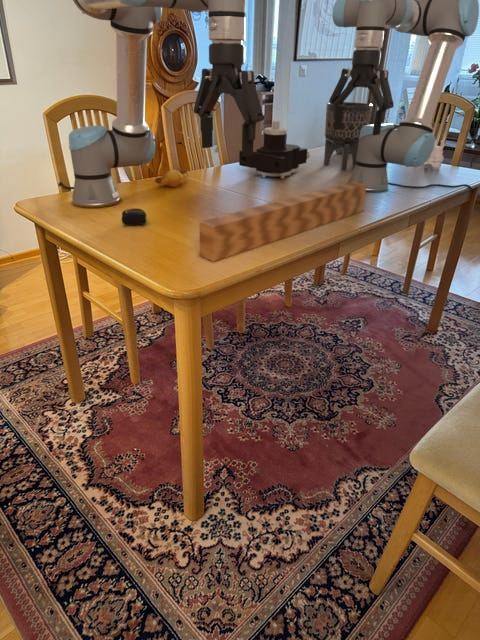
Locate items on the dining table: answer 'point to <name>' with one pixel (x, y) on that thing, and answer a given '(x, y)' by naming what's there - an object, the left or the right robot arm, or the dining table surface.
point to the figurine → (435, 157)
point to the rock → (341, 151)
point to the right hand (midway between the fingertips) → (356, 132)
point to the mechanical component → (275, 154)
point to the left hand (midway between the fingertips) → (226, 151)
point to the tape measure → (133, 216)
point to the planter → (345, 130)
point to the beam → (278, 220)
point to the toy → (173, 178)
